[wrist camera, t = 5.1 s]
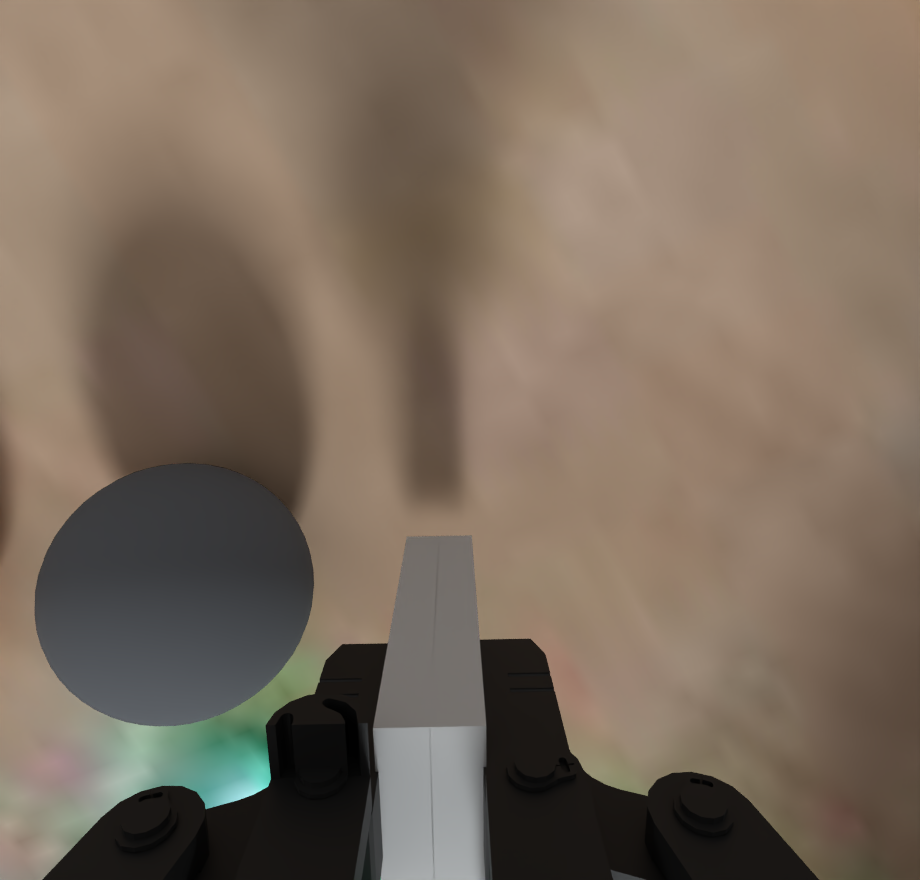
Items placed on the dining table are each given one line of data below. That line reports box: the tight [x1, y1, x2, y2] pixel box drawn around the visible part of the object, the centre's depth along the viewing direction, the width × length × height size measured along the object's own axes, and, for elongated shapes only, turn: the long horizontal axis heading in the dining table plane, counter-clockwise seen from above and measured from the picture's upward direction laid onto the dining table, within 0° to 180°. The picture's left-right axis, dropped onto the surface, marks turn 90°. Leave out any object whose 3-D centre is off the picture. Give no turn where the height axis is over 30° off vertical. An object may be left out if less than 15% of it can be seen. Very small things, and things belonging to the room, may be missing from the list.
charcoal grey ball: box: [35, 463, 314, 726], centre depth 14 cm, size 6×6×6 cm
